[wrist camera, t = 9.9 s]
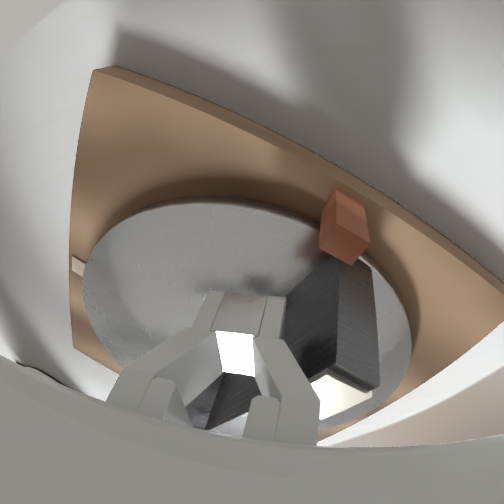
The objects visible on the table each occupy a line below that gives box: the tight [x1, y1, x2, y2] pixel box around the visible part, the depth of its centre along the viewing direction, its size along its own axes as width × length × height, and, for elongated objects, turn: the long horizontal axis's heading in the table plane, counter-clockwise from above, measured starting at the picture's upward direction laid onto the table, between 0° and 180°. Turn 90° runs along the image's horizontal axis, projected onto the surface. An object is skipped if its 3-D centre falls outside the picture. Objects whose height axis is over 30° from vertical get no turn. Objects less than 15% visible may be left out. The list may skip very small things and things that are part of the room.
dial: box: [82, 196, 412, 437], centre depth 15 cm, size 19×19×6 cm
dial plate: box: [69, 66, 504, 442], centre depth 17 cm, size 22×22×4 cm
